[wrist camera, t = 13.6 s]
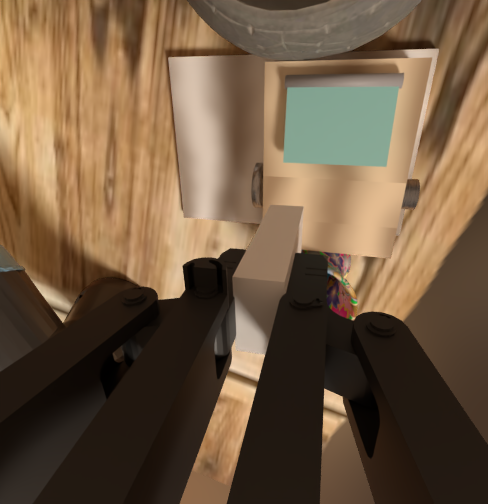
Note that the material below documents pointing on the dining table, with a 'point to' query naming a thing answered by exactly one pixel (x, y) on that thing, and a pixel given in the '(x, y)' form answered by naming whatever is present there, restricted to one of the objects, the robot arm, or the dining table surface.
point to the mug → (339, 284)
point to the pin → (257, 190)
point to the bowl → (301, 24)
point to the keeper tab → (340, 118)
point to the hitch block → (272, 147)
